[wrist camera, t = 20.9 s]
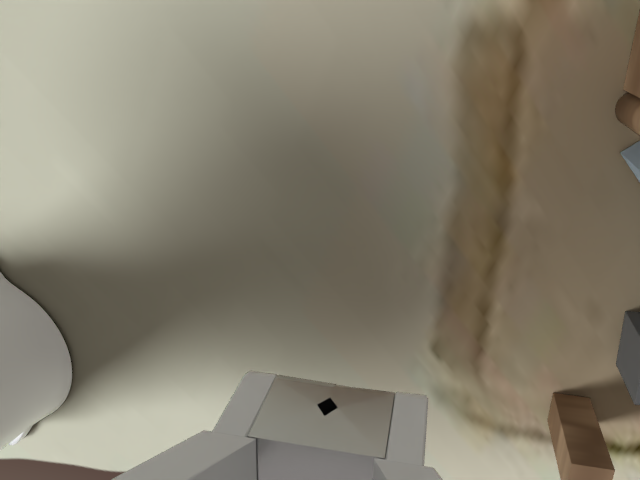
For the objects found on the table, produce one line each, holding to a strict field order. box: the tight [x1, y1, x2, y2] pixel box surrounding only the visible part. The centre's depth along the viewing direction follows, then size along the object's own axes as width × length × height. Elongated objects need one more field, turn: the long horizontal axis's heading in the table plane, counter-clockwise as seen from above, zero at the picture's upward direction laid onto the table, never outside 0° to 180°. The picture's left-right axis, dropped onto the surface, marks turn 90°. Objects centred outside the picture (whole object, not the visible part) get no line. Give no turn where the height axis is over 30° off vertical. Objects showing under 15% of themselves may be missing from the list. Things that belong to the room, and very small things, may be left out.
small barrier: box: [548, 11, 640, 480], centre depth 33 cm, size 2×33×7 cm, turn 179°
